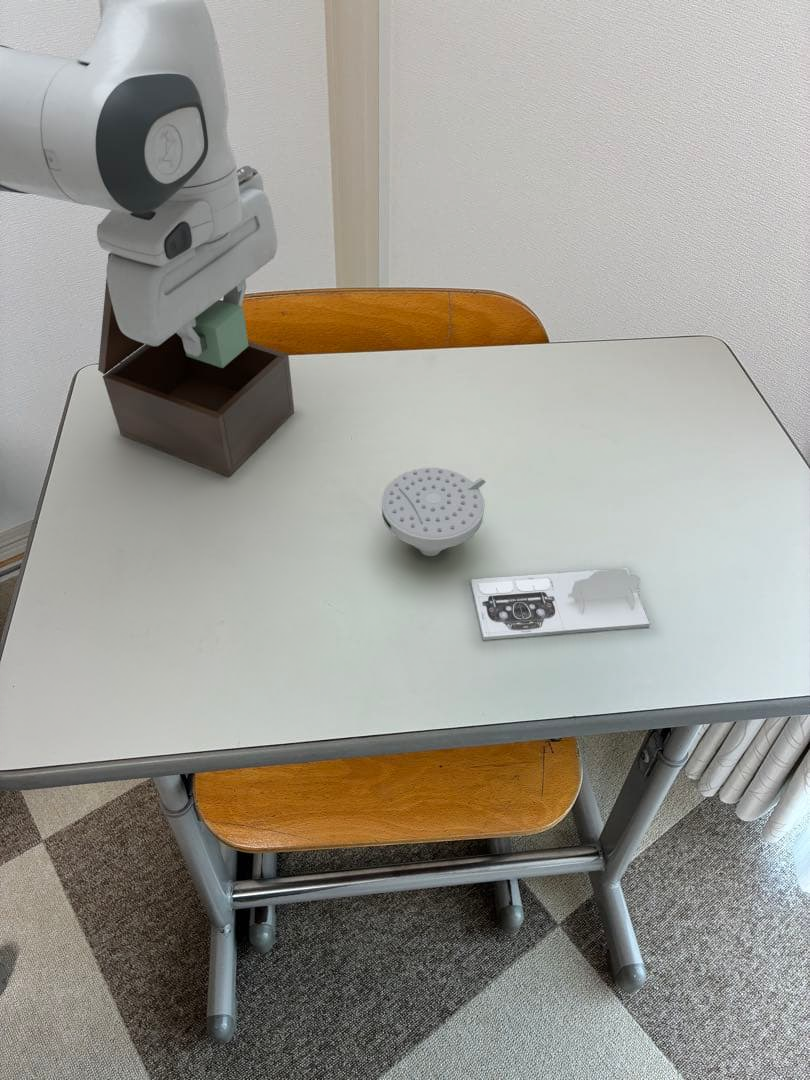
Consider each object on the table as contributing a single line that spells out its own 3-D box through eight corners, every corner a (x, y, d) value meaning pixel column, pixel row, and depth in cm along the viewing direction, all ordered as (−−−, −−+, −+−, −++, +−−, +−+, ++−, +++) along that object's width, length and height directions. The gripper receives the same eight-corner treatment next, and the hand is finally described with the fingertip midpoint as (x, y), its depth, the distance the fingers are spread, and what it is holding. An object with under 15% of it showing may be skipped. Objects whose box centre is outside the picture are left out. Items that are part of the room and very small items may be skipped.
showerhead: (510, 510, 71) (408, 544, 68) (501, 564, 76) (406, 597, 73) (461, 447, 76) (365, 475, 73) (456, 501, 82) (366, 529, 79)
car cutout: (626, 570, 76) (637, 538, 72) (648, 626, 71) (661, 594, 68) (470, 582, 74) (474, 549, 71) (482, 640, 70) (487, 608, 66)
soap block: (222, 368, 79) (215, 328, 76) (186, 356, 80) (177, 316, 77) (248, 346, 82) (243, 306, 78) (213, 334, 83) (206, 295, 80)
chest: (294, 412, 91) (288, 354, 85) (229, 477, 83) (217, 418, 78) (191, 376, 96) (179, 318, 90) (120, 435, 88) (102, 376, 82)
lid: (203, 203, 77) (161, 173, 77) (115, 259, 70) (68, 224, 70) (181, 317, 90) (144, 290, 90) (104, 374, 82) (63, 345, 82)
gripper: (230, 152, 77) (248, 283, 87) (80, 239, 65) (122, 380, 75) (285, 165, 75) (297, 298, 85) (142, 257, 63) (176, 400, 73)
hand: (214, 337), depth 80 cm, fingers closed on soap block, 4 cm apart
